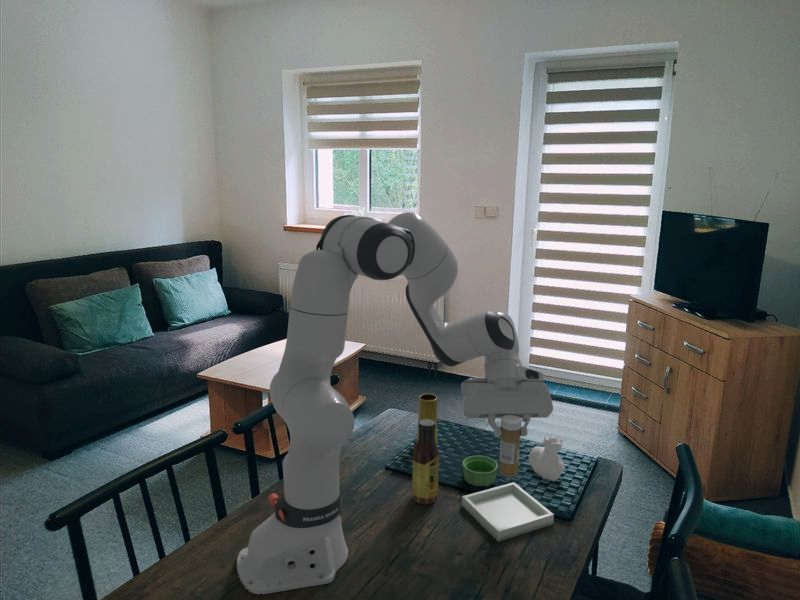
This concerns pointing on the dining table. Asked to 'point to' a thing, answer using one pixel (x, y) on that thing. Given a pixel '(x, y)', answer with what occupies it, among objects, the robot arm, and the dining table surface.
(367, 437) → the dining table surface
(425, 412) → the vase
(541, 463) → the duck figurine
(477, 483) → the ramekin
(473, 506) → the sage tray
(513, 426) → the sprinkles bottle
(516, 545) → the dining table surface
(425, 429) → the sauce bottle
